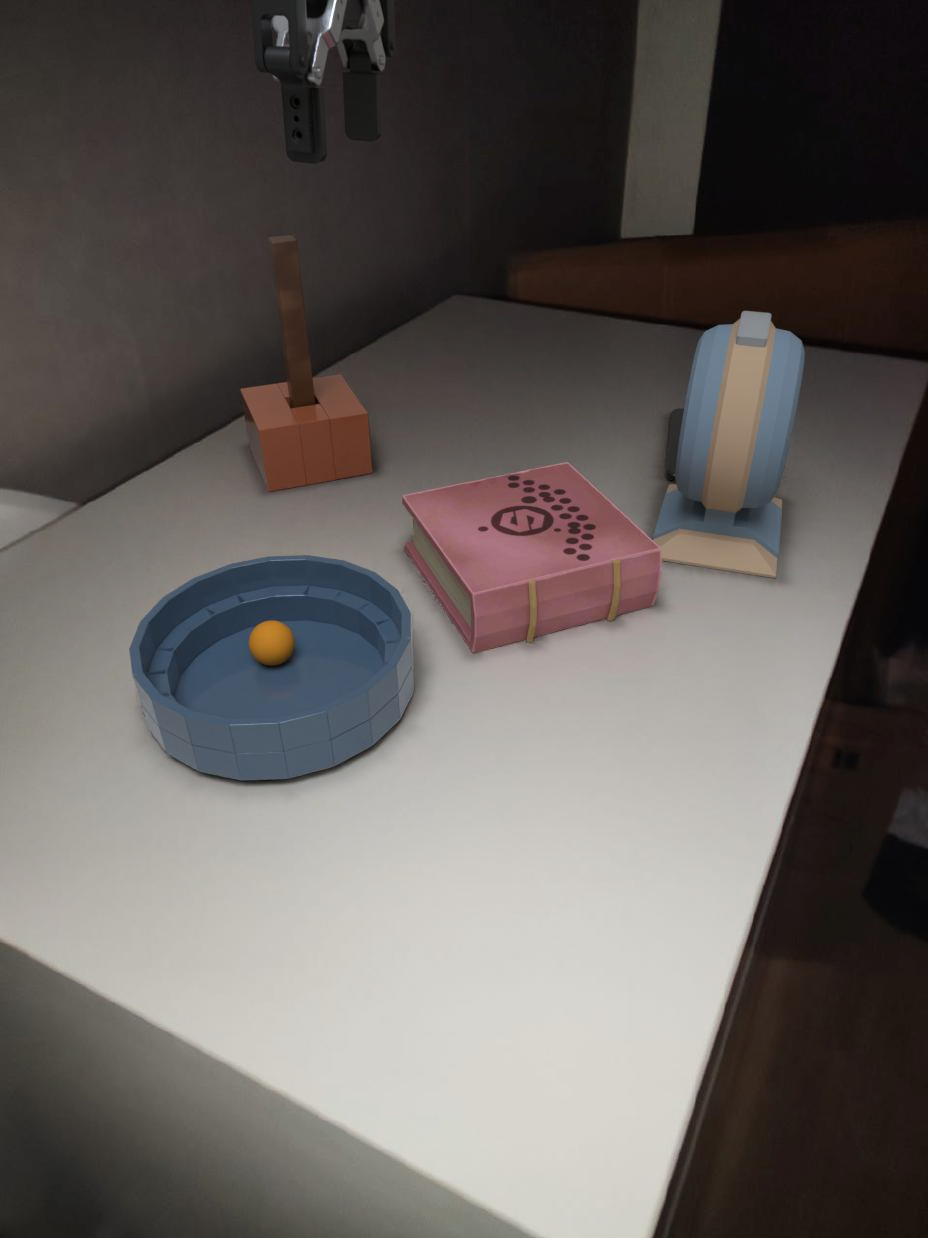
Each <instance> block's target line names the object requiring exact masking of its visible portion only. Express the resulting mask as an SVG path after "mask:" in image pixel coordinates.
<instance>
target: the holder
mask: <svg viewBox="0 0 928 1238" xmlns="http://www.w3.org/2000/svg"><path fill="white" fill-rule="evenodd" d="M312 378H313V387H314V395H315V404H316V405H310V406H303V407H297V408H291V407H290V399H289V392H288V384H287V381H285V382H278V383H270V384H265V385H263V384H262V385H257V386H256V385H255V386H250V387H244V388H240V389H239V390H240V398H241V403H242V404H241V405H242V411H243V415H244V421H245V429H246V434H247V440H248V445H249V448H250V451H251V453H252V456H253V459H254V461H255V463H256V466H257V468H258V471H259V474H260V476H261V477H262V479H263V482H264V485H265V487H266V489H267V492H268V493H271V492H277V491H281V490H282V491H283V490H287V489H292V488H298V487H304V486H309V485H316V484H321V483H325V482H331V481H336V480H342V479H347V478H353V477H359V476H365V475H370V474H373V460H372V459H373V458H372V449H371V435H370V422H369V413H368V411H367V409H366V408H365V407H364V405H363V404H362V403H361V401H360V400H359V398H358V396H357V395H356V394H355V393H354V391H353V389H352V388H351V387H350V385H349V384H348V382H347V381H346V380H345V378H344V377H343V375H342V374H341V373H339V374H333V375H332V374H331V375H325V376H319V377H312Z"/></svg>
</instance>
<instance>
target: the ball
mask: <svg viewBox="0 0 928 1238" xmlns="http://www.w3.org/2000/svg"><path fill="white" fill-rule="evenodd" d="M294 646H295V640H294V636H293V633H292V631H291V630H290V629H289V628H288V627H287V626H286V625H285V624H283V623H281V622H279V621H273V620H271V621H265V622H262V623H260V624H259V625H257V626H256V627H255V628H254V629H253V631H252V632H251V635H250V637H249V649H250V652H251V654H252V655H253V657H254V658H255V659H256V660H257V661H258V662H260V663H262V664H265V665H270V666H274V665H279V664H281V663H283V662H285V661H286V660H287V659H288V658H289V657H290V656H291V654H292V653H293V650H294Z"/></svg>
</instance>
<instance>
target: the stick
mask: <svg viewBox="0 0 928 1238" xmlns="http://www.w3.org/2000/svg"><path fill="white" fill-rule="evenodd" d="M268 247H269V255H270V260H271V262H270V263H271V269H272V277H273V286H274V292H275V293H274V294H275V300H276V306H277V308H276V309H277V316H278V322H279V331H280V338H281V346H282V354H283V360H284V368H285V376H286V382H287V384H288V392H289V399H290V407H291V408H297V407H303V406H310V405H316V404H315V395H314V387H313V378H314V377H313V370H312V363H311V362H312V361H311V354H310V344H309V335H308V334H309V333H308V326H307V317H306V310H305V309H306V307H305V300H304V299H305V298H304V290H303V283H302V282H303V281H302V273H301V265H300V256H299V248H298V241H297V240H296V238H295V237H294V236H293V235H292V234H287V235H278V236H269V237H268Z"/></svg>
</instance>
